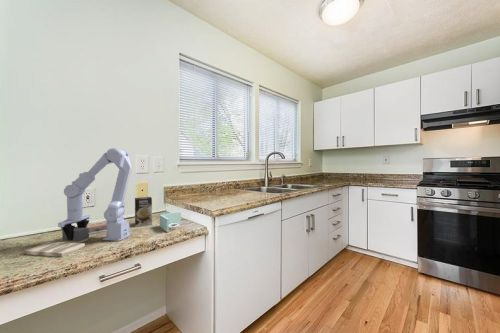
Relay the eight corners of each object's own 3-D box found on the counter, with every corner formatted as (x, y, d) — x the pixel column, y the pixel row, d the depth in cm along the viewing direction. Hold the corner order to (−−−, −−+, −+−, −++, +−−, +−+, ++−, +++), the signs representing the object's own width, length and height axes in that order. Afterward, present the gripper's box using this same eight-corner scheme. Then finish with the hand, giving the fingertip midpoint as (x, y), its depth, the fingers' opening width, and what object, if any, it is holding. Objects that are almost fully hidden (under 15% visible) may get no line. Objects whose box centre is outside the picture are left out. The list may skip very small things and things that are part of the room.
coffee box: (135, 227, 124) (134, 199, 123) (134, 224, 129) (134, 197, 129) (152, 224, 128) (152, 197, 127) (151, 222, 134) (151, 196, 133)
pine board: (84, 246, 96) (84, 243, 96) (62, 256, 86) (61, 253, 86) (50, 244, 98) (50, 241, 98) (24, 254, 88) (24, 250, 88)
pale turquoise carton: (167, 233, 115) (166, 219, 115) (160, 227, 124) (159, 214, 124) (188, 228, 123) (188, 215, 122) (180, 223, 132) (180, 211, 132)
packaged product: (118, 217, 128) (122, 221, 121) (118, 225, 129) (122, 229, 121) (80, 223, 116) (81, 227, 109) (80, 232, 117) (81, 237, 109)
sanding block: (88, 239, 105) (88, 228, 105) (79, 243, 100) (78, 231, 100) (72, 238, 106) (72, 227, 106) (62, 242, 101) (62, 230, 101)
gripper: (81, 206, 111) (82, 232, 111) (51, 212, 96) (52, 242, 97) (93, 206, 109) (94, 232, 110) (65, 213, 95) (66, 243, 96)
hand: (75, 237), depth 103 cm, fingers closed on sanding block, 5 cm apart
